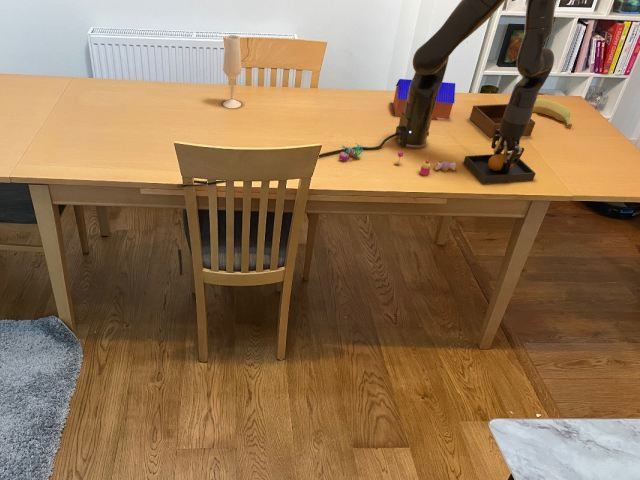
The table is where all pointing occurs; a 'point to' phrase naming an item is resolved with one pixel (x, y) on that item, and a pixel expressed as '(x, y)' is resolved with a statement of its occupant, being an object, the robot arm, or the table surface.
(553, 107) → the banana
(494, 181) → the tray
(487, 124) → the brown wooden box
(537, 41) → the robot arm
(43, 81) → the table surface
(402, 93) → the house
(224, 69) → the champagne flute
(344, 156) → the anatomy model
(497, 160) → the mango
